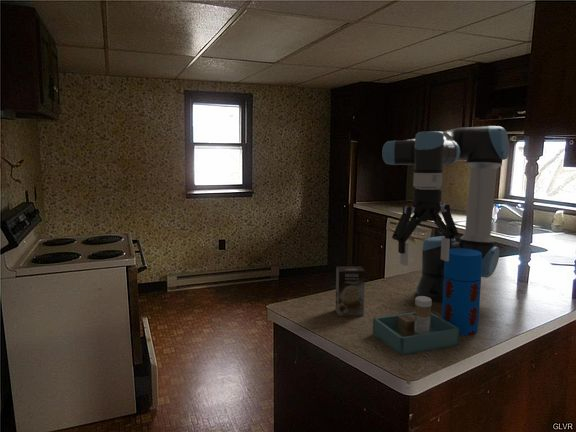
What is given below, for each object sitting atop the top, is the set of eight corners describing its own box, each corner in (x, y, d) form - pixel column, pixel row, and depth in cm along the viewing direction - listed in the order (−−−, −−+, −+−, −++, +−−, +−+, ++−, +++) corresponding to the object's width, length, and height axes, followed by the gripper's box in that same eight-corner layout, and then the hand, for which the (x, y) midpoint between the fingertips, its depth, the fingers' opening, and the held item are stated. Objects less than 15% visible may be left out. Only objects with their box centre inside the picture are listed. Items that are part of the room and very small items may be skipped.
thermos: (459, 338, 130) (463, 257, 126) (434, 325, 139) (437, 250, 136) (485, 331, 134) (490, 253, 130) (459, 319, 144) (463, 246, 140)
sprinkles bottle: (416, 337, 129) (418, 294, 127) (431, 341, 126) (434, 297, 124) (411, 342, 125) (413, 298, 123) (426, 346, 123) (428, 302, 121)
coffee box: (337, 316, 148) (338, 271, 145) (335, 309, 154) (335, 266, 152) (364, 315, 148) (365, 270, 146) (360, 309, 154) (361, 265, 152)
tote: (426, 324, 140) (427, 310, 139) (459, 345, 125) (460, 328, 124) (373, 333, 134) (373, 318, 133) (400, 355, 119) (401, 338, 118)
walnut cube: (411, 329, 135) (411, 314, 134) (420, 335, 130) (421, 319, 130) (397, 331, 134) (397, 316, 133) (406, 337, 129) (406, 322, 128)
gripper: (395, 190, 112) (393, 269, 115) (473, 187, 119) (469, 261, 123) (380, 188, 119) (379, 262, 122) (455, 185, 126) (452, 255, 130)
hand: (424, 262), depth 122 cm, fingers open, 13 cm apart
